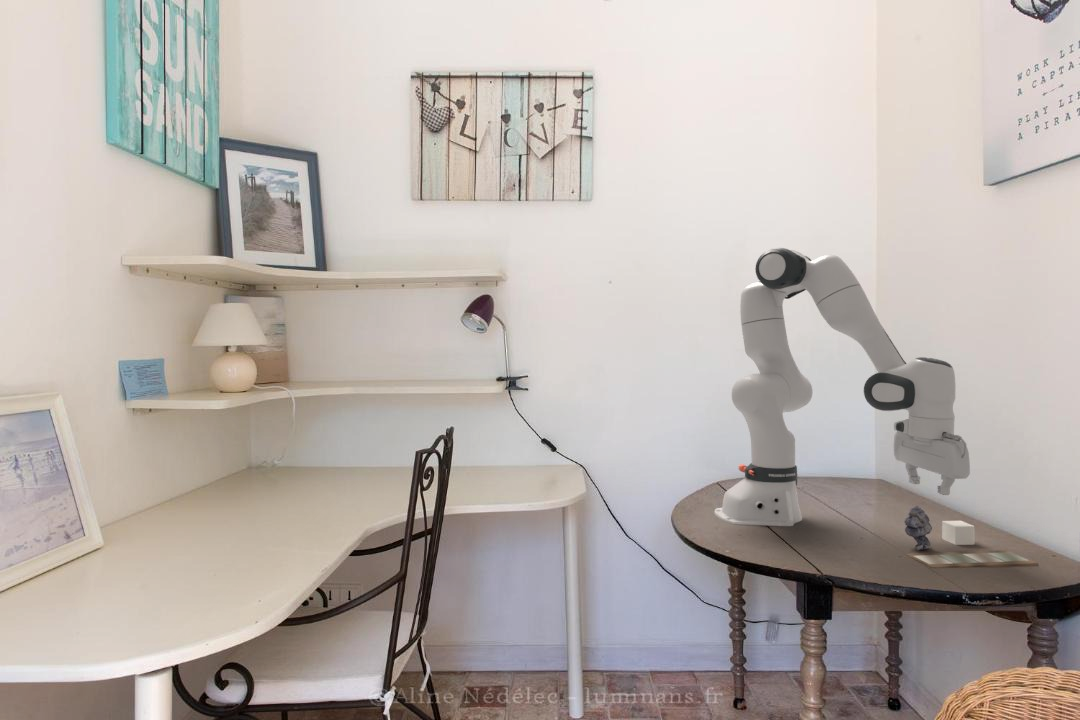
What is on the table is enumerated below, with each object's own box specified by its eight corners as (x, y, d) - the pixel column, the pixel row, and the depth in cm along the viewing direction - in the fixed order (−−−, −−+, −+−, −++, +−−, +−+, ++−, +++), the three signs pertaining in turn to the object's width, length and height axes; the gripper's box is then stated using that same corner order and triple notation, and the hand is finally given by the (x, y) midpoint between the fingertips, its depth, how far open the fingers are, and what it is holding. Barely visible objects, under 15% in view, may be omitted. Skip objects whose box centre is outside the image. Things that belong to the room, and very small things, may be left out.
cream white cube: (955, 546, 140) (955, 526, 140) (942, 539, 145) (942, 521, 145) (974, 545, 140) (974, 526, 140) (960, 539, 145) (960, 520, 145)
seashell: (932, 555, 134) (932, 509, 134) (904, 551, 137) (903, 507, 137) (932, 548, 139) (931, 504, 139) (904, 544, 142) (904, 501, 142)
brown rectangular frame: (931, 569, 126) (931, 566, 126) (906, 556, 134) (906, 553, 134) (1038, 565, 127) (1038, 562, 127) (1006, 552, 135) (1006, 550, 135)
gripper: (979, 437, 129) (977, 501, 130) (913, 422, 150) (911, 477, 150) (951, 437, 129) (949, 501, 130) (889, 422, 149) (887, 478, 150)
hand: (928, 488), depth 140 cm, fingers open, 8 cm apart
